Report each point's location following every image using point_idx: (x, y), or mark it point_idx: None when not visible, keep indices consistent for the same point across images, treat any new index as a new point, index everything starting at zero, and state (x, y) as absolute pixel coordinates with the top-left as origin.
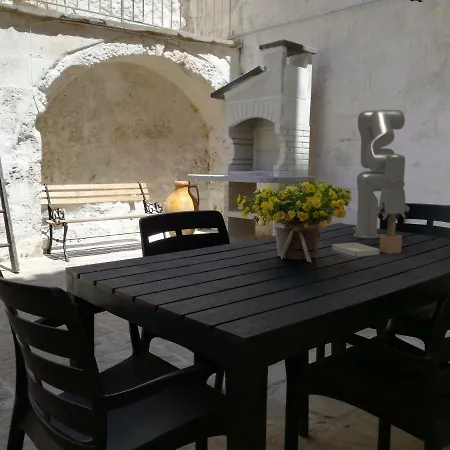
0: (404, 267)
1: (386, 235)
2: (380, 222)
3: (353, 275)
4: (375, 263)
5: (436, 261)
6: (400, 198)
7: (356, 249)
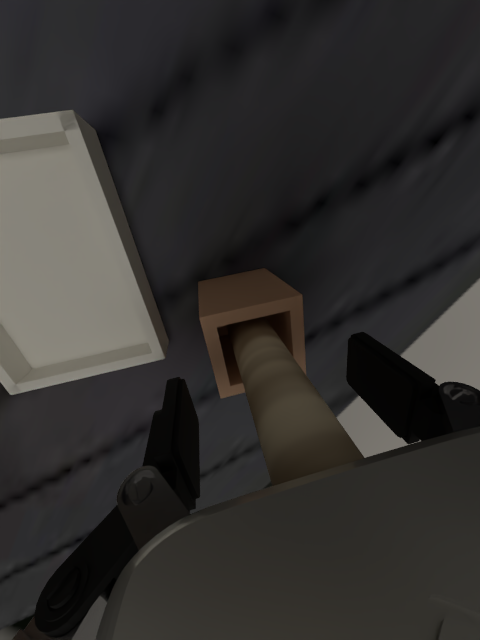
0: None
1: (217, 364)
2: (151, 453)
3: None
4: (104, 430)
5: None
6: None
7: (78, 216)
